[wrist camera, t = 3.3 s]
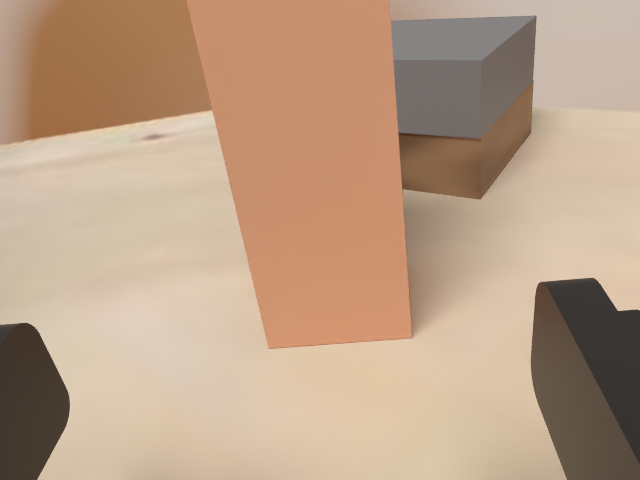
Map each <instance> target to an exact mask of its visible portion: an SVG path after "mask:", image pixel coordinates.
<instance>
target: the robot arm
mask: <svg viewBox="0 0 640 480" xmlns="http://www.w3.org/2000/svg"><path fill="white" fill-rule="evenodd" d="M531 373H532V381H533V386H534V391H535V395H536V398H537V401H538V404H539V407H540V410H541V412H542V415H543V417H544V420H545V423H546V425H547V428H548V431H549V433H550V436H551V438H552V441H553V444H554V446H555V449H556V452H557V454H558V457H559V459H560V462H561V465H562V467H563V470H564V473H565V475H566V478H567V480H640V311H639V310H626V311H617V309H616V308H615V306H614V304H613V303H612V301H611V300H610V298H609V297H608V295H607V294H606V292H605V291H604V289H603V288H602V286H601V285H600V284H599V282H598V281H597V280H596V279H594V278H584V279H572V280H560V281H548V282H540V283H539V284H538V286H537V289H536V295H535V309H534V323H533V337H532V351H531ZM69 410H70V401H69V395H68V391H67V389H66V387H65V384H64V382H63V380H62V378H61V376H60V374H59V372H58V370H57V368H56V366H55V364H54V362H53V360H52V358H51V356H50V354H49V352H48V350H47V348H46V346H45V344H44V342H43V340H42V338H41V336H40V334H39V332H38V331H37V329H36V328H35V327H34V326H32V325H31V324H28V323H18V324H6V325H0V480H37V479H38V477H39V475H40V473H41V471H42V470H43V468H44V466H45V464H46V462H47V460H48V459H49V457H50V455H51V453H52V451H53V449H54V447H55V446H56V444H57V442H58V440H59V438H60V436H61V435H62V433H63V431H64V429H65V427H66V424H67V421H68V417H69Z"/></svg>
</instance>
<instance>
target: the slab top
mask: <svg viewBox="0 0 640 480" xmlns="http://www.w3.org/2000/svg"><path fill="white" fill-rule="evenodd" d="M391 33H392V48H393V62H394V77H395V92H396V107H397V121H398V132H399V133H412V134H425V135H437V136H450V137H463V138H476V139H481V138H482V137H483V136H484V135H485V134H486V132H487V131H488V130H489V129H490V128H491V127H492V126H493V125H494V124H495V122H496V121H497V120H498V119H499V118H500V117H501V116H502V115H503V114H504V113H505V111H506V110H507V109H508V108H509V107H510V106H511V105H512V104H513V103H514V101H515V100H516V99H517V98H518V97H519V96H520V95H521V94H522V93H523V92H524V90H525V89H526V88H527V87H528V86H529V85H530V84H531V83H532V82H533V70H534V51H535V34H536V16H513V17H486V18H456V19H428V20H402V21H401V20H400V21H391Z"/></svg>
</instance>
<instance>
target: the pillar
mask: <svg viewBox="0 0 640 480" xmlns="http://www.w3.org/2000/svg"><path fill="white" fill-rule="evenodd" d="M187 4H188V7H189V12H190V16H191V21H192V24H193V29H194V33H195V37H196V42H197V46H198V50H199V55H200V59H201V63H202V67H203V72H204V76H205V80H206V84H207V89H208V92H209V97H210V101H211V105H212V110H213V114H214V118H215V122H216V127H217V131H218V135H219V139H220V144H221V148H222V152H223V156H224V161H225V165H226V169H227V173H228V178H229V182H230V186H231V190H232V195H233V199H234V203H235V207H236V212H237V216H238V220H239V224H240V229H241V233H242V237H243V241H244V246H245V250H246V254H247V258H248V262H249V267H250V271H251V275H252V279H253V284H254V288H255V292H256V296H257V301H258V305H259V309H260V313H261V318H262V322H263V326H264V330H265V335H266V339H267V343H268V347H269V349H270V348H283V347H297V346H310V345H324V344H337V343H351V342H364V341H378V340H392V339H405V338H412V328H411V313H410V298H409V283H408V269H407V254H406V239H405V224H404V210H403V195H402V180H401V165H400V151H399V136H398V121H397V107H396V92H395V77H394V62H393V48H392V33H391V19H390V3H389V0H187Z"/></svg>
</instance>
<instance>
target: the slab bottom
mask: <svg viewBox="0 0 640 480" xmlns="http://www.w3.org/2000/svg"><path fill="white" fill-rule="evenodd" d="M532 97H533V82H532V83H531V84H530V85H529V86H528V87H527V88H526V89H525V90H524V92H523V93H522V94H521V95H520V96H519V97H518V98H517V99H516V100H515V101H514V103H513V104H512V105H511V106H510V107H509V108H508V109H507V110H506V111H505V113H504V114H503V115H502V116H501V117H500V118H499V119H498V120H497V121H496V122H495V124H494V125H493V126H492V127H491V128H490V129H489V130H488V131H487V132H486V134H485V135H484V136H483V137H482V138H481V139H476V138H463V137H450V136H437V135H425V134H412V133H399V132H398V136H399V151H400V165H401V180H402V189H407V190H414V191H422V192H429V193H437V194H444V195H451V196H459V197H466V198H474V199H481V198H482V197H483V195H484V194H485V193H486V191H487V190H488V189H489V187H490V186H491V185H492V183H493V182H494V181H495V179H496V178H497V177H498V176H499V174H500V173H501V172H502V170H503V169H504V168H505V166H506V165H507V164H508V162H509V161H510V160H511V158H512V157H513V156H514V154H515V153H516V152H517V150H518V149H519V148H520V146H521V145H522V144H523V143H524V141H525V140H526V139H527V137H528V136H529V135H530V133H531V117H532Z"/></svg>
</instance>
